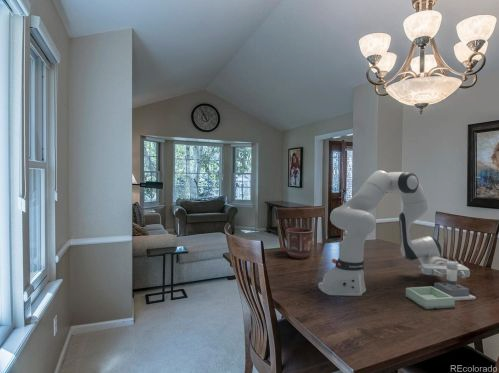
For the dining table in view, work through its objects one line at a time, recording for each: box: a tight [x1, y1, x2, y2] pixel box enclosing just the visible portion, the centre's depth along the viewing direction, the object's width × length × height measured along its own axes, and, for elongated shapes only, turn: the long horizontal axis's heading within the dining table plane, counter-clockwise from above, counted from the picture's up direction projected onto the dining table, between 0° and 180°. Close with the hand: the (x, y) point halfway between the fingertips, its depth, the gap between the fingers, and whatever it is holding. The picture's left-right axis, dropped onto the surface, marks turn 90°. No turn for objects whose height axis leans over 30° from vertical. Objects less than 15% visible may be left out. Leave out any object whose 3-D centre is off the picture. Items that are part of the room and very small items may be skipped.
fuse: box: [445, 260, 458, 288], centre depth 140 cm, size 4×4×14 cm
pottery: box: [285, 227, 314, 260], centre depth 204 cm, size 18×18×18 cm
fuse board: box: [433, 281, 477, 301], centre depth 141 cm, size 13×13×4 cm
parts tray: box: [405, 285, 456, 310], centre depth 133 cm, size 13×13×4 cm
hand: (452, 275), depth 140 cm, fingers open, 8 cm apart
